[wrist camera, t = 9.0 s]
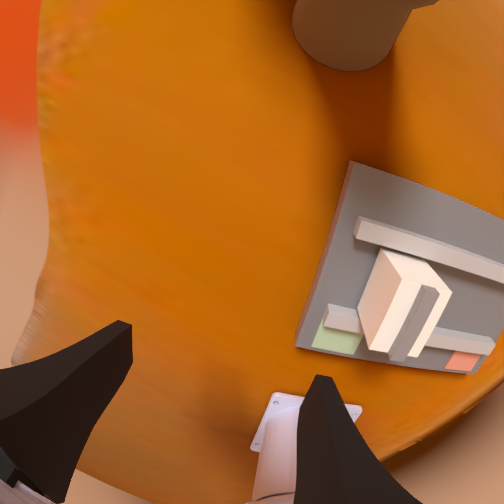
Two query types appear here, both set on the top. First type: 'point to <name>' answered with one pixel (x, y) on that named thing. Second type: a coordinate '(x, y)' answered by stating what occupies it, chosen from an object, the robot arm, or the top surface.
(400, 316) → the block
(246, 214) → the top surface
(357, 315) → the switch panel
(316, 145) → the top surface
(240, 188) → the top surface
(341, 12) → the pepper mill
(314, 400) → the robot arm
